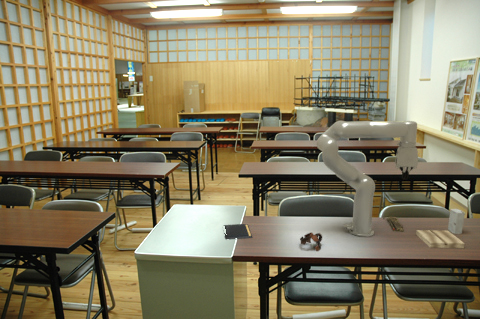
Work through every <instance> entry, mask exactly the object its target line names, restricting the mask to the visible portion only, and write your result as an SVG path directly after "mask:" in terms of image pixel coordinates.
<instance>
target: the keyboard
mask: <svg viewBox="0 0 480 319" xmlns="http://www.w3.org/2000/svg"><path fill="white" fill-rule="evenodd" d="M382 218H383V220H385V219H386V221H387V223H388V225H389V227H390V229H391V230H392V232H394V233H406V231H405V229H404V227H403V225H402V223H401V222H400V221H399V219H398V218H397V217H396V216H389V217H387V216H386V217H382Z"/></svg>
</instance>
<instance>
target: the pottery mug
mask: <svg viewBox="0 0 480 319" xmlns="http://www.w3.org/2000/svg"><path fill="white" fill-rule="evenodd" d="M299 240H300V245H303V246H305V245H306V244H307V243H308V244H311V243H312V242H311V240H312V241H313V242H314V243H316V244H317V245H316V246H315V247H314V249H315V251H316V252H318V251H319V250H321V248H322V246H321V242H322V240H323V235H322V234H321V232H318V233H315V234H314V233H313V232H309V233H308V232H307V233H306V234H304V237H303V236H301V237H300V238H299Z"/></svg>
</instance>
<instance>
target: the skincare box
mask: <svg viewBox="0 0 480 319" xmlns="http://www.w3.org/2000/svg"><path fill="white" fill-rule="evenodd" d="M465 213H466V212H464V211H463V210H460V209H458V208H450V211H449V218H448V225H447V230H448V231H449V232H450V233H452V234H453V235H460V234H462V233H463V227H464V221H465Z"/></svg>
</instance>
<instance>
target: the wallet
mask: <svg viewBox="0 0 480 319" xmlns="http://www.w3.org/2000/svg"><path fill="white" fill-rule="evenodd" d="M223 226H225V229H226V234H227V235H226V234H225V233H224V232H223V234H225V236H224V239H225V240H227V239H229V240H242V239H244V240H245V239H253V238H254V236H253V235H252V233H251V229H250V227H249V225H248V224H247V223H238V224H237V223H235V224H224V225H223ZM235 238H237V239H235Z"/></svg>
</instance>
